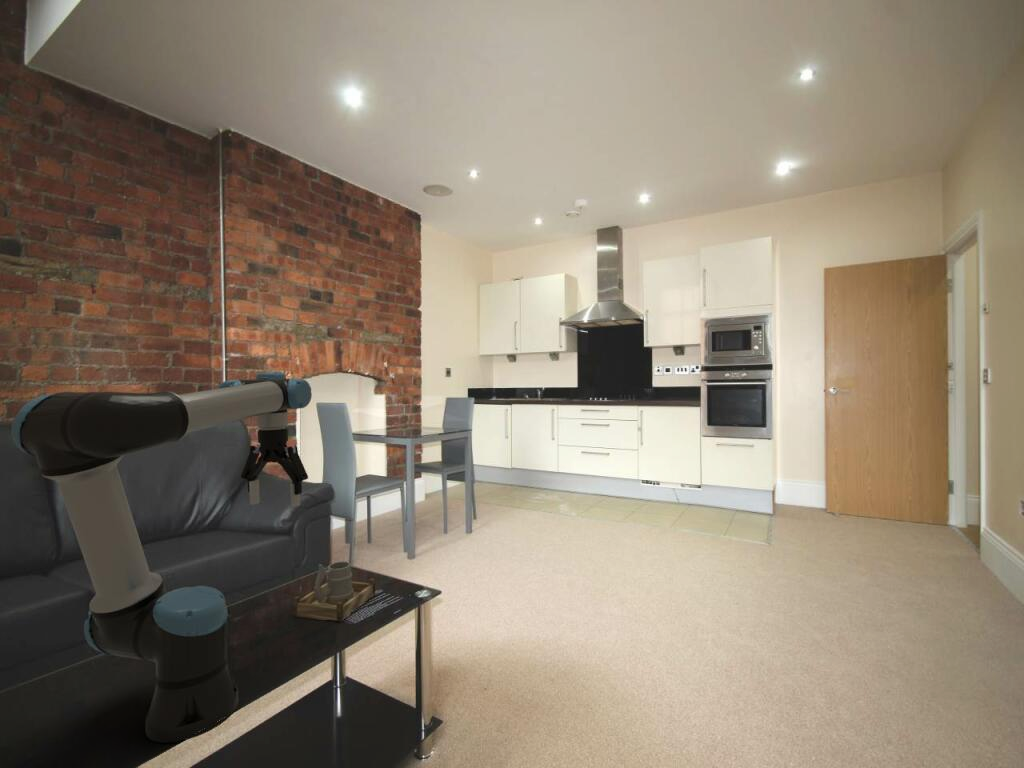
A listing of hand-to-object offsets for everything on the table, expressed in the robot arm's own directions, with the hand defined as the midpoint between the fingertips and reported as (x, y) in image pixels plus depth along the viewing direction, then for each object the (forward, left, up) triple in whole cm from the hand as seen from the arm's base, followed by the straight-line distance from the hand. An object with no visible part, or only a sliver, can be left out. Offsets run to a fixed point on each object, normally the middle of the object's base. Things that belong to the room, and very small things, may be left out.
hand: (274, 505), depth 136 cm
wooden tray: (+10, -12, -31) cm, 34 cm away
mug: (+9, -11, -30) cm, 33 cm away
